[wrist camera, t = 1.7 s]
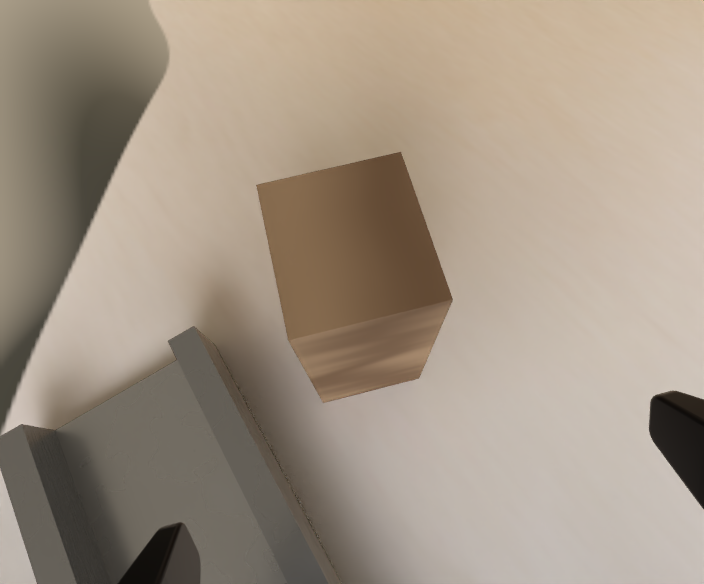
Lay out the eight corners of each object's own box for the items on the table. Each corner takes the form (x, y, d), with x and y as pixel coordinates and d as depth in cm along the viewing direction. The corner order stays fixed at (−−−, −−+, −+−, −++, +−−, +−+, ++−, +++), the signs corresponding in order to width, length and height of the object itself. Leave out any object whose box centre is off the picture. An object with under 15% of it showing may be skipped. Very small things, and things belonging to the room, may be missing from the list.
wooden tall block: (323, 402, 22) (288, 340, 13) (301, 302, 24) (256, 184, 15) (419, 378, 22) (452, 299, 13) (389, 281, 24) (401, 152, 15)
